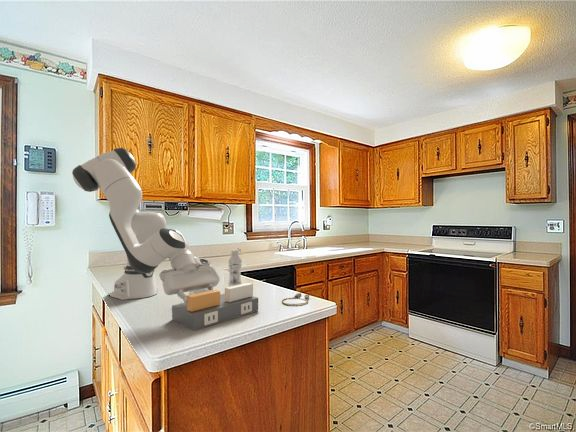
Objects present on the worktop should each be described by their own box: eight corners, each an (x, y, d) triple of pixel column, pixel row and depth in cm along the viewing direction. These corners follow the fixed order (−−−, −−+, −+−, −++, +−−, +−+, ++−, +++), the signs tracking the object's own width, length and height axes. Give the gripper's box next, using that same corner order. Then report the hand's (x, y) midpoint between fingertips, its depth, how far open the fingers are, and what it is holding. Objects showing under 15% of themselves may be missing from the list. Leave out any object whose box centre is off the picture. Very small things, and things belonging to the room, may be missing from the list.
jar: (210, 296, 135) (210, 270, 135) (209, 301, 127) (209, 273, 127) (189, 297, 133) (189, 271, 133) (187, 302, 125) (187, 274, 125)
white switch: (224, 300, 109) (224, 287, 109) (248, 294, 117) (248, 282, 117) (229, 301, 107) (229, 289, 107) (252, 296, 115) (252, 283, 115)
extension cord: (320, 301, 127) (320, 296, 127) (293, 309, 117) (293, 303, 117) (300, 296, 136) (300, 291, 136) (274, 302, 126) (274, 297, 126)
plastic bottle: (235, 289, 147) (235, 249, 147) (244, 292, 143) (244, 250, 143) (225, 292, 142) (225, 250, 142) (234, 294, 138) (234, 251, 138)
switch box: (163, 315, 108) (163, 301, 108) (225, 300, 128) (225, 288, 128) (195, 330, 93) (195, 314, 93) (259, 311, 113) (259, 297, 113)
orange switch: (187, 309, 98) (186, 295, 98) (215, 302, 106) (215, 289, 106) (191, 311, 95) (191, 297, 96) (220, 304, 104) (220, 291, 104)
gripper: (160, 265, 100) (174, 299, 93) (213, 259, 115) (228, 288, 108) (155, 277, 103) (167, 310, 96) (206, 269, 118) (221, 298, 111)
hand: (200, 298), depth 102 cm, fingers open, 8 cm apart
